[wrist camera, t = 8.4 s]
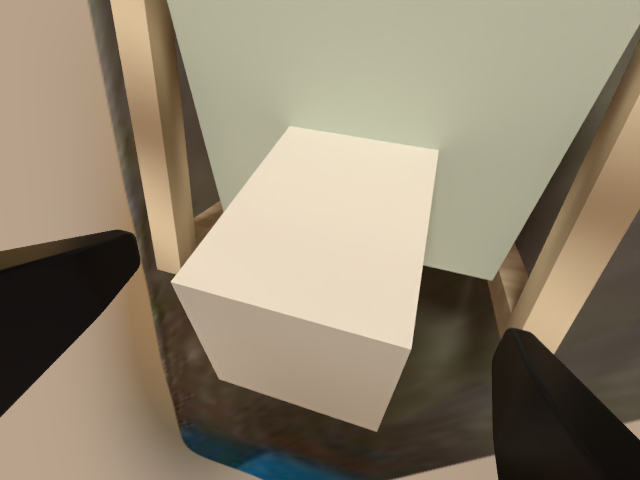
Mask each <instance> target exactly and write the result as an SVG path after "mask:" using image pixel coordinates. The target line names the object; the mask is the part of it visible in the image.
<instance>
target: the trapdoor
mask: <svg viewBox="0 0 640 480" xmlns="http://www.w3.org/2000/svg"><path fill="white" fill-rule="evenodd" d="M167 3H168V6H169V10H170V14H171V18H172V21H173V25H174V29H175V33H176V36H177V40H178V44H179V48H180V51H181V55H182V59H183V62H184V66H185V70H186V74H187V77H188V81H189V85H190V89H191V92H192V96H193V100H194V104H195V107H196V111H197V115H198V119H199V122H200V126H201V130H202V134H203V137H204V141H205V145H206V149H207V152H208V156H209V160H210V164H211V167H212V171H213V175H214V178H215V182H216V186H217V190H218V193H219V197H220V201H221V205H222V208H223V212H224V211H225V210H226V209H227V208H228V206H229V205H230V204H231V202H232V201H233V200H234V198H235V197H236V196H237V194H238V193H239V192H240V190H241V189H242V188H243V187H244V185H245V184H246V183H247V181H248V180H249V179H250V177H251V176H252V175H253V173H254V172H255V171H256V170H257V168H258V167H259V166H260V164H261V163H262V162H263V160H264V159H265V158H266V156H267V155H268V154H269V152H270V151H271V150H272V149H273V147H274V146H275V145H276V143H277V142H278V141H279V139H280V138H281V137H282V135H283V134H284V133H285V132H286V130H287V129H288V128H289V126H293V127H299V128H305V129H311V130H317V131H323V132H329V133H335V134H342V135H348V136H354V137H360V138H366V139H372V140H378V141H385V142H391V143H397V144H403V145H409V146H415V147H421V148H428V149H434V150H439V153H438V160H437V167H436V174H435V182H434V189H433V196H432V203H431V211H430V218H429V225H428V232H427V239H426V247H425V254H424V261H423V265H424V266H429V267H433V268H438V269H442V270H447V271H451V272H456V273H460V274H465V275H469V276H473V277H478V278H482V279H487V280H491V281H492V280H493V279H494V277H495V275H496V273H497V272H498V270H499V268H500V266H501V265H502V263H503V261H504V259H505V258H506V256H507V254H508V252H509V251H510V249H511V247H512V245H513V244H514V242H515V240H516V239H517V237H518V235H519V233H520V232H521V230H522V228H523V226H524V225H525V223H526V221H527V219H528V218H529V216H530V214H531V212H532V211H533V209H534V207H535V205H536V204H537V202H538V200H539V198H540V197H541V195H542V193H543V191H544V190H545V188H546V186H547V185H548V183H549V181H550V179H551V178H552V176H553V174H554V172H555V171H556V169H557V167H558V165H559V164H560V162H561V160H562V158H563V157H564V155H565V153H566V151H567V150H568V148H569V146H570V144H571V143H572V141H573V139H574V137H575V136H576V134H577V132H578V131H579V129H580V127H581V125H582V124H583V122H584V120H585V118H586V117H587V115H588V113H589V111H590V110H591V108H592V106H593V104H594V103H595V101H596V99H597V97H598V96H599V94H600V92H601V90H602V89H603V87H604V85H605V83H606V82H607V80H608V78H609V77H610V75H611V73H612V71H613V70H614V68H615V66H616V64H617V63H618V61H619V59H620V57H621V56H622V54H623V52H624V50H625V49H626V47H627V45H628V43H629V42H630V40H631V38H632V36H633V35H634V33H635V31H636V29H637V28H638V26H639V24H640V0H167Z"/></svg>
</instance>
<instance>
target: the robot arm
mask: <svg viewBox="0 0 640 480" xmlns="http://www.w3.org/2000/svg"><path fill="white" fill-rule="evenodd" d="M139 266H140V255H139V250H138V245H137V240H136V237H135V235H134V234H133V233H130V232H127V231H123V230H112V231H107V232H101V233H96V234H90V235H85V236H79V237H75V238H69V239H63V240H58V241H53V242H47V243H42V244H37V245H31V246H26V247H21V248H15V249H10V250H5V251H0V417H1V416H2V415H3V414H4V413H5V412H6V411H7V410H8V409H9V408H10V407H11V406H12V405H13V404H14V403H15V402H16V401H17V400H18V399H19V398H20V397H21V396H22V395H23V394H24V393H25V391H26V390H28V389H29V387H30V386H31V385H32V384H33V383H34V382H35V381H36V380H37V379H38V378H39V377H40V376H41V375H42V374H43V373H44V372H45V371H46V370H47V369H48V368H49V367H50V366H51V365H52V364H53V363H54V362H55V361H56V360H57V359H58V358H59V357H60V356H61V355H62V353H64V352H65V351H66V350H67V348H69V347H70V346H71V345H72V343H73V342H74V341H75V340H76V339H77V338H78V337H79V336H80V335H81V334H82V333H83V332H84V331H85V330H86V329H87V328H88V327H89V326H90V325H91V324H92V323H93V322H94V321H95V320H96V319H97V318H98V317H99V316H100V314H101V313H102V312H103V311H104V310H105V309H106V307H107V306H108V305H109V304H110V303H111V302H112V300H113V299H114V298H115V296H116V295H117V294H118V293H119V292H120V290H121V289H122V288H123V287H124V286H125V284H126V283H127V282H128V281H129V279H130V278H131V277H132V276H133V275H134V273H135V272H136V271H137V269H138V268H139ZM492 414H493V441H494V450H495V458H496V465H497V473H498V480H640V440H639V439H638V438H637V437H636V436H635V435H634V434H633V433H632V432H631V431H630V430H629V429H628V428H627V427H626V426H625V425H624V424H623V423H622V422H621V421H620V420H619V419H618V418H617V417H616V416H615V415H614V414H613V413H612V412H611V411H610V410H609V409H608V408H607V407H606V406H605V405H604V404H603V403H602V402H601V401H600V400H599V399H598V398H597V397H596V396H595V395H594V394H593V393H592V392H591V391H590V390H589V389H588V388H587V387H586V386H585V385H584V384H583V383H582V382H581V381H580V380H579V379H578V378H577V377H576V376H575V375H574V374H573V373H572V372H571V371H570V370H569V369H568V368H567V367H566V366H565V365H564V364H563V363H562V362H561V361H560V360H559V359H558V358H557V357H556V356H555V355H554V354H553V353H552V352H551V351H550V350H549V349H548V348H547V347H546V346H545V345H544V344H543V343H542V342H541V341H540V340H539V339H538V338H537V337H536V336H535V335H534V334H532V333H531V332H529V331H526V330H521V329H517V328H513V327H510V328H508V329H507V330H506V331H505V332H504V334H503V337H502V339H501V341H500V343H499V345H498V347H497V349H496V351H495V354H494V356H493V360H492Z"/></svg>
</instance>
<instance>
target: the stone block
mask: <svg viewBox="0 0 640 480" xmlns="http://www.w3.org/2000/svg"><path fill="white" fill-rule="evenodd" d="M438 153H439V150H434V149H428V148H421V147H415V146H409V145H403V144H397V143H391V142H385V141H378V140H372V139H366V138H360V137H354V136H348V135H342V134H335V133H329V132H323V131H317V130H311V129H305V128H299V127H293V126H289V128H288V129H287V130H286V132H285V133H284V134H283V135H282V137H281V138H280V139H279V141H278V142H277V143H276V145H275V146H274V147H273V149H272V150H271V151H270V152H269V154H268V155H267V156H266V158H265V159H264V160H263V162H262V163H261V164H260V166H259V167H258V168H257V170H256V171H255V172H254V173H253V175H252V176H251V177H250V179H249V180H248V181H247V183H246V184H245V185H244V187H243V188H242V189H241V190H240V192H239V193H238V194H237V196H236V197H235V198H234V200H233V201H232V202H231V204H230V205H229V206H228V208H227V209H226V210H225V211H224V213H223V214H222V215H221V217H220V218H219V219H218V221H217V222H216V223H215V225H214V226H213V227H212V228H211V230H210V231H209V232H208V234H207V235H206V236H205V238H204V239H203V240H202V242H201V243H200V244H199V246H198V247H197V248H196V249H195V251H194V252H193V253H192V255H191V256H190V257H189V259H188V260H187V261H186V263H185V264H184V265H183V266H182V268H181V269H180V270H179V272H178V273H177V274H176V276H175V277H174V278H173V280H172V281H171V284H172V286H173V288H174V290H175V292H176V294H177V296H178V298H179V300H180V302H181V304H182V306H183V308H184V310H185V312H186V314H187V316H188V318H189V320H190V322H191V324H192V326H193V328H194V330H195V332H196V334H197V336H198V338H199V340H200V342H201V344H202V346H203V348H204V350H205V352H206V354H207V356H208V358H209V360H210V362H211V364H212V366H213V368H214V370H215V372H216V374H217V376H218V378H219V379H221V380H224V381H227V382H230V383H232V384H235V385H238V386H241V387H244V388H247V389H250V390H253V391H256V392H259V393H262V394H265V395H268V396H271V397H274V398H277V399H280V400H283V401H286V402H289V403H292V404H295V405H298V406H301V407H304V408H307V409H310V410H313V411H316V412H319V413H322V414H325V415H328V416H331V417H334V418H337V419H340V420H343V421H346V422H349V423H352V424H355V425H358V426H361V427H364V428H367V429H370V430H373V431H376V432H377V430H378V428H379V425H380V423H381V421H382V418H383V416H384V413H385V411H386V409H387V406H388V404H389V401H390V399H391V397H392V394H393V392H394V390H395V387H396V385H397V382H398V380H399V378H400V375H401V373H402V370H403V368H404V366H405V363H406V361H407V358H408V356H409V354H410V351H411V348H412V340H413V333H414V326H415V319H416V312H417V304H418V297H419V290H420V283H421V275H422V268H423V261H424V254H425V247H426V239H427V232H428V225H429V218H430V211H431V203H432V196H433V189H434V182H435V174H436V167H437V160H438Z"/></svg>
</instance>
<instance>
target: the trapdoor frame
mask: <svg viewBox="0 0 640 480" xmlns="http://www.w3.org/2000/svg"><path fill="white" fill-rule="evenodd" d="M110 1H111V7H112V13H113V18H114V24H115V30H116V36H117V41H118V47H119V53H120V58H121V64H122V70H123V75H124V81H125V87H126V93H127V98H128V104H129V110H130V115H131V121H132V127H133V132H134V138H135V144H136V150H137V155H138V161H139V167H140V172H141V178H142V184H143V189H144V195H145V201H146V207H147V212H148V218H149V224H150V229H151V235H152V241H153V246H154V252H155V258H156V264H157V269H158V270H162V271H166V272H170V273H173V274H177V273H178V272H179V270H180V269H181V268H182V266H183V265H184V264H185V263H186V261H187V260H188V259H189V257H190V256H191V255H192V253H193V252H194V251H195V249H196V248H197V247H198V246H199V244H200V243H201V242H202V240H203V239H204V238H205V236H206V235H207V234H208V232H209V231H210V230H211V228H212V227H213V226H214V225H215V223H216V222H217V221H218V219H219V218H220V217H221V215H222V214H223V213H224V212H223V208H222V205H221V201H219V202H218V203H216V204H215V205H213V206H212V207H210V208H209V209H207V210H206V211H204V212H203V213H201V214H200V215H198V216H197V217H195V218H194V219H193V210H192V201H191V191H190V182H189V172H188V163H187V153H186V144H185V134H184V125H183V115H182V106H181V96H180V87H179V77H178V68H177V58H176V48H175V39H174V29H173V21H172V18H171V14H170V10H169V6H168V3H167V0H110ZM639 209H640V41H639V43H638V45H637V47H636V49H635V51H634V53H633V56H632V58H631V60H630V62H629V64H628V66H627V68H626V71H625V73H624V75H623V77H622V79H621V81H620V83H619V86H618V88H617V90H616V92H615V94H614V96H613V98H612V101H611V103H610V105H609V107H608V109H607V111H606V113H605V116H604V118H603V120H602V122H601V124H600V126H599V128H598V131H597V133H596V135H595V137H594V139H593V141H592V143H591V146H590V148H589V150H588V152H587V154H586V156H585V158H584V161H583V163H582V165H581V167H580V169H579V171H578V173H577V176H576V178H575V180H574V182H573V184H572V186H571V189H570V191H569V193H568V195H567V197H566V199H565V201H564V204H563V206H562V208H561V210H560V212H559V214H558V216H557V219H556V221H555V223H554V225H553V227H552V229H551V231H550V234H549V236H548V238H547V240H546V242H545V244H544V246H543V249H542V251H541V253H540V255H539V257H538V259H537V261H536V264H535V266H534V268H533V270H532V272H531V274H530V276H528V274H527V271H526V269H525V267H524V264H523V262H522V259H521V257H520V254H519V252H518V250H517V247H516V245H515V242H514V244H513V245H512V247H511V249H510V251H509V252H508V254H507V256H506V258H505V259H504V261H503V263H502V265H501V266H500V268H499V270H498V272H497V273H496V275H495V277H494V279H493V280H492V281H491V280H487V281H488V285H489V290H490V294H491V299H492V303H493V308H494V312H495V317H496V321H497V326H498V330H499V335H500V340H501V339H502V337H503V334H504V332H505V331H506V330H507V329H508V328H510V327H513V328H517V329H521V330H526V331H529V332H531V333H532V334H534V335H535V336H536V337H537V338H538V339H539V340H540V341H541V342H542V343H543V344H544V345H545V346H546V347H547V348H548V349H549V350H550V351H551V352H552V353H553V354H554V353H555V352H556V350H557V348H558V346H559V345H560V343H561V341H562V340H563V338H564V336H565V335H566V333H567V331H568V329H569V328H570V326H571V324H572V323H573V321H574V319H575V318H576V316H577V314H578V312H579V311H580V309H581V307H582V306H583V304H584V302H585V301H586V299H587V297H588V295H589V294H590V292H591V290H592V289H593V287H594V285H595V284H596V282H597V280H598V278H599V277H600V275H601V273H602V272H603V270H604V268H605V267H606V265H607V263H608V261H609V260H610V258H611V256H612V255H613V253H614V251H615V249H616V248H617V246H618V244H619V243H620V241H621V239H622V238H623V236H624V234H625V232H626V231H627V229H628V227H629V226H630V224H631V222H632V221H633V219H634V217H635V215H636V214H637V212H638V210H639Z"/></svg>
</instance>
